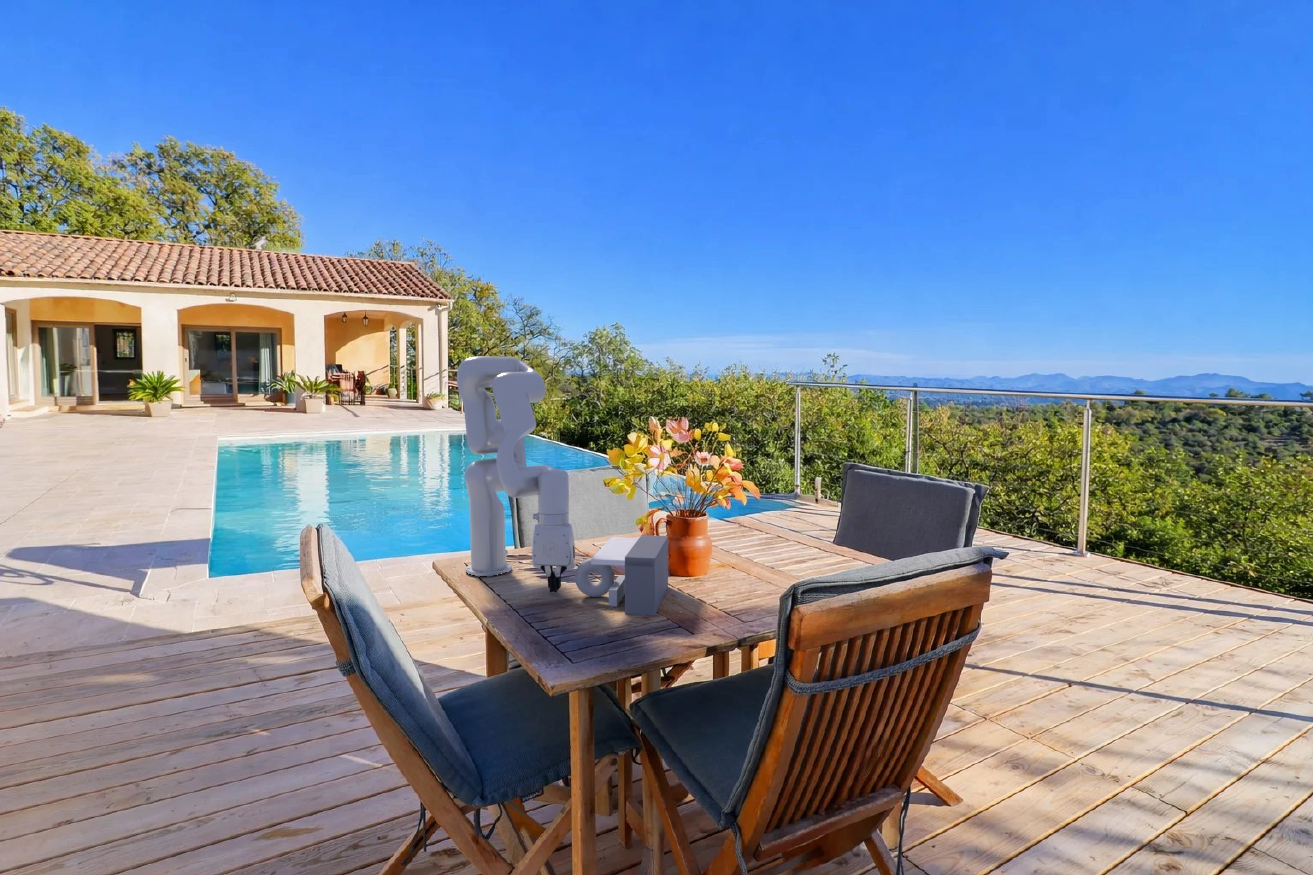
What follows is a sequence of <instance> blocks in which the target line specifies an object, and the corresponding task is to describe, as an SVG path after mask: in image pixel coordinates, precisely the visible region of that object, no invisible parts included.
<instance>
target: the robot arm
mask: <svg viewBox="0 0 1313 875" xmlns="http://www.w3.org/2000/svg"><path fill="white" fill-rule="evenodd" d="M456 385H457V389H458V392H459V395H460V398H461V401H462V405H463V410H464V413H463V414H464V420H465V421H464V422H465V432H466V441H467V446H468V448H469V451H470V452H471V453H473V454H474V455H492V454H496V457H493V458H486V459H485V458H484V459H478V460H474V461H472V462H471V463H470V464H469V465H468V466H467V467H466V469H465V472H464V481H465V486H466V490H467V494H468V502H469V528H470V529H469V531H470V532H469V533H470V564H469V565H467V566H465V573H466V572H467V573H468V574H467V573H466V574H467V575H469V574H471V575H470V576H472V575H475V576H474V577H480V576H487V577H494V576H493V575H497V574H501V573H505V572H507V573H509V572H511V570H512V569H511V568H512V564H511V563H510V562H507V557H506V556H508V554H509V552H508V550H507V549H506V548H507V546H506V512H505V510H506V509H505V507H504V504H503V502H502V500H501V499H500V497H499V496H498V493H501V492H505V494H506V495H507V496H509V497H510V498H513V499H518V498H519V499H520V498H525V497H527V498H528V497H533V496H537V499H538V500H537V504H538V505H537V506H538V507H537V508H538V509H537V510H538V512H537V513H533V514H532V519H533V520H536V521H537V523H536V524H535V525H534V529H533V537H532V545H531V546H532V548H531V549H532V550H531V561H532V566H533V567H534V568H536V569H540V570H542V572H543V573H544V574H545V576H546V577H547V587H548V588H549V593H557V592H558V591H559V590H560V589H561V587H562V574H563V573H564V572H565V571H569V570H574V569H575V568H576V561H575V559H576V543H575V536H574V531H573V530H574V529H573V526H572V523H570V505H569V504H570V503H569V502H570V501H569V500H570V499H569V498H570V496H569V491H570V490H569V489H570V488H569V487H570V486H569V485H570V484H569V482H570V481H569V479H570V478H569V473H568V471H566V470H565V469H560V468H554V467H553V466H550V465H546V464H538V465H530V466H527V456H526V446H525V437H526V436H528V435H529V434H531V433H532V432H534V430H536V427H537V420H536V419H535V418H536V417H535V414H534V412H533V408H532V405H531V404H537V403H540V402H541V401H542V400H544V398H545V396H546V385H545V381H544V379H543V378H542V376H541V374H540V373H538V372H537V371H536V370H535V369H534V368H533V367H531V366H530V365H528V364H527V363H525V362H524V361H523V360H521V359H519V358H517V357H513V356H491V355H489V356H487V355H483V356H482V355H481V356H478V355H477V356H472V357H467V358H465V359H464V360H462V361H461V363H459V365H458V369H457V372H456ZM485 388H491V389H492V394H493V397H494V398H492V396H491V394H489V392H488V391H487V390H486V389H485ZM494 400H495V401H494ZM496 408H497V410H496ZM496 412H498V414H499V418H500V419H498V417H497V413H496ZM554 567H555V572H554ZM505 574H506V573H505ZM497 576H498V575H497Z"/></svg>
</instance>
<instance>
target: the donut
mask: <svg viewBox="0 0 1313 875" xmlns="http://www.w3.org/2000/svg"><path fill="white" fill-rule="evenodd" d="M592 558H593V557H590V558H587V559H585V560H583V561H582V562H581V563H580V564H579V565H578V566H577V568H576V569H575V573H574V581H575V585H576V587H577V588H578V590H579V591H580V592H581V593H582V594H584V595H585V596H587V597H590V598H598V597H603V596H605V595H606V594H607V593H608V594H609V589H610V587H611V586H612V584H613V583H614V582H615V580H616V579H615V578H616V577H615V571H614V569H613V567H612V565H598V564H591V559H592ZM592 572H597V573H599V574H600V576H601V577H600V581H599V582H597V583H595V582H594V583H593V582H591V580H590V579H589V575H590V574H591V573H592Z"/></svg>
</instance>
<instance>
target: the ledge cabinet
mask: <svg viewBox="0 0 1313 875" xmlns="http://www.w3.org/2000/svg"><path fill="white" fill-rule="evenodd" d="M591 558H592V559H591V564H598V565H611V566H624V575H618V576H617V577H616V579H615V580H614V583H613V584H612V586H611V587H610V589H609V592H608V607H618V606H619V604H620V602H621V600H622V599H623V598H624V614H625V615H633V616H649V617H650V616H652V617H655V616H656V614H657V612H658V609H659V608H660V607H661V603H662V601H663V599H664V597H665V595H666V592H667V590H668V588H669V536H668V535H652V534H651V535H648V534H647V535H645V534H641V535H640V537H622V536H611V537H610V538H609V539H608V540H607V541H606V542H605V544H604V545H603V546H602V547H601V548H600V549H599V550H598V551H597V552H596V554H594V555H593V556H592V557H591Z"/></svg>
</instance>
